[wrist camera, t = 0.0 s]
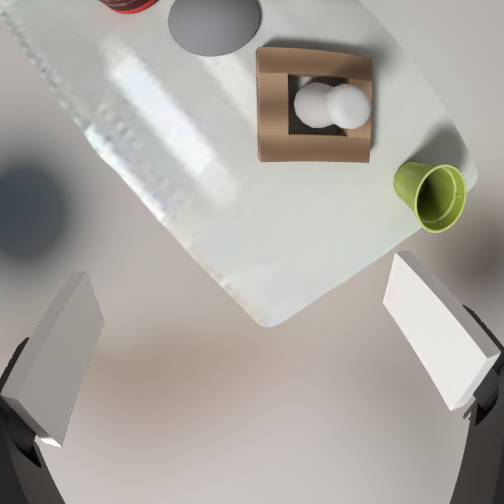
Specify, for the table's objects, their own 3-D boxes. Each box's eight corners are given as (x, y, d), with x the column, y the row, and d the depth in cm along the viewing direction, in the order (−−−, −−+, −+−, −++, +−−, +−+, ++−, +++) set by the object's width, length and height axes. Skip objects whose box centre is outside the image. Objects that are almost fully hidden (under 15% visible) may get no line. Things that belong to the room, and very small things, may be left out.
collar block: (255, 51, 30) (258, 47, 27) (361, 60, 31) (371, 57, 28) (258, 157, 37) (260, 162, 34) (359, 158, 38) (369, 162, 35)
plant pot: (389, 217, 42) (419, 242, 35) (377, 160, 38) (410, 176, 30) (434, 198, 42) (467, 219, 34) (426, 144, 37) (463, 156, 29)
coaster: (169, -13, 24) (168, -14, 24) (257, -18, 25) (258, -20, 25) (169, 60, 30) (168, 60, 29) (259, 55, 30) (260, 54, 30)
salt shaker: (336, 123, 35) (385, 134, 24) (295, 130, 35) (329, 143, 24) (328, 80, 32) (375, 73, 21) (285, 86, 33) (316, 79, 21)
